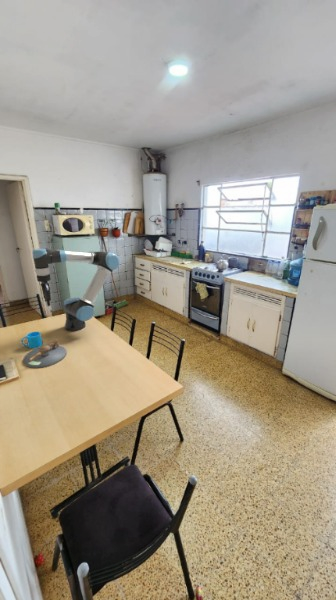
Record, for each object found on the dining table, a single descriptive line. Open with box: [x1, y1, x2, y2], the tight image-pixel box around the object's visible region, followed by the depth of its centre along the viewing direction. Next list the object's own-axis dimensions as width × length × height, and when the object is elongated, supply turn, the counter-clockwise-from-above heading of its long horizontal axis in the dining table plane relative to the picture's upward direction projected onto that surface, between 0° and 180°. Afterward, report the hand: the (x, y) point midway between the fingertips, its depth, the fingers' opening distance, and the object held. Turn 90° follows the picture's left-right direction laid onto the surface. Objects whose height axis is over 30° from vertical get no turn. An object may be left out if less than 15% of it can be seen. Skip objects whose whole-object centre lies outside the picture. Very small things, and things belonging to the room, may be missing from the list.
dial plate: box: [22, 345, 68, 369], centre depth 155 cm, size 24×24×4 cm
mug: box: [20, 331, 43, 349], centre depth 166 cm, size 12×8×8 cm
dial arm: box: [30, 339, 60, 360], centre depth 154 cm, size 22×6×4 cm, turn 163°
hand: (49, 309), depth 163 cm, fingers closed
